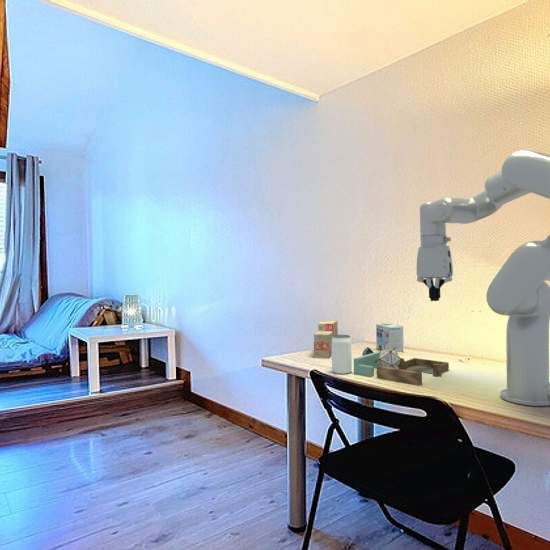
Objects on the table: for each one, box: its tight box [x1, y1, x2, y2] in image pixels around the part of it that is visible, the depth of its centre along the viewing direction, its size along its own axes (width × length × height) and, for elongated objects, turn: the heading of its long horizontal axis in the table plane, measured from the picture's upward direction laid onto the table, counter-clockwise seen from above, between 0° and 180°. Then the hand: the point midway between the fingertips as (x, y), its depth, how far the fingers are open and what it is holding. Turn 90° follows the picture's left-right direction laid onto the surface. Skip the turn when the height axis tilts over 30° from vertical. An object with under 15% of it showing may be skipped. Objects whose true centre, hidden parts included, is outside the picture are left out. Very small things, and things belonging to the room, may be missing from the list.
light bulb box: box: [375, 322, 404, 354], centre depth 183 cm, size 11×7×11 cm, turn 17°
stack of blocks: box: [313, 319, 339, 359], centre depth 181 cm, size 21×6×12 cm, turn 164°
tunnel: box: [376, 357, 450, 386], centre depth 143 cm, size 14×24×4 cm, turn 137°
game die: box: [375, 348, 404, 369], centre depth 146 cm, size 9×8×10 cm
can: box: [331, 334, 353, 375], centre depth 148 cm, size 6×6×12 cm
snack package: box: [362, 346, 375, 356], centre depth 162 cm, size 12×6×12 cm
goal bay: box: [353, 351, 380, 378], centre depth 148 cm, size 6×15×5 cm, turn 137°
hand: (434, 300), depth 139 cm, fingers closed
